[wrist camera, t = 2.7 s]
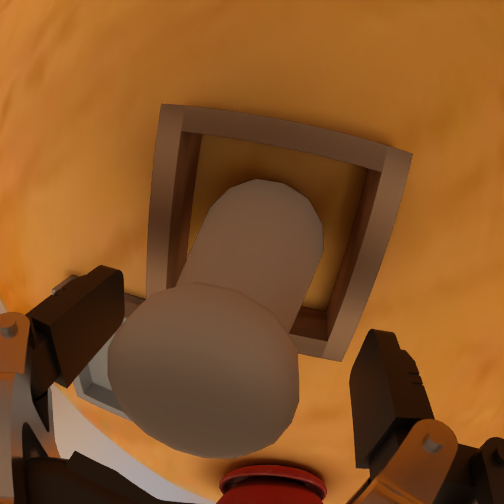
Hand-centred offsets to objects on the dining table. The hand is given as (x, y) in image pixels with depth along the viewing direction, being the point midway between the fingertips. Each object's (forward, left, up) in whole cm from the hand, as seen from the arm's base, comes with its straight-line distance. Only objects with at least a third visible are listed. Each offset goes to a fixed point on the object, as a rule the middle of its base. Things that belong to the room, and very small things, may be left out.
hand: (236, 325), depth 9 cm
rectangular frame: (-1, 0, -9) cm, 9 cm away
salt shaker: (-1, 0, -9) cm, 9 cm away
